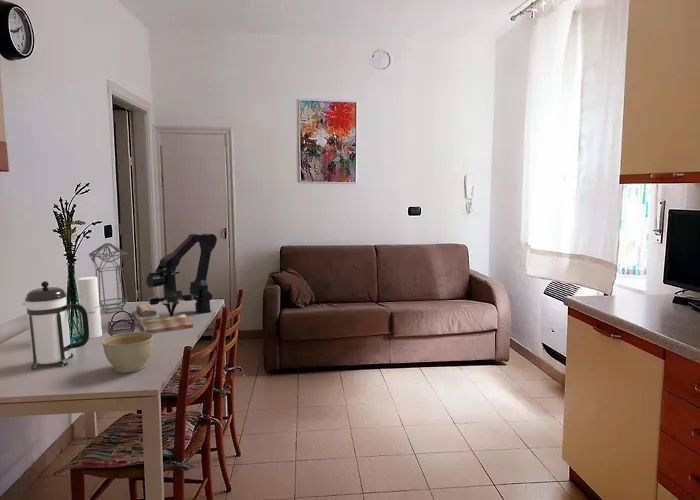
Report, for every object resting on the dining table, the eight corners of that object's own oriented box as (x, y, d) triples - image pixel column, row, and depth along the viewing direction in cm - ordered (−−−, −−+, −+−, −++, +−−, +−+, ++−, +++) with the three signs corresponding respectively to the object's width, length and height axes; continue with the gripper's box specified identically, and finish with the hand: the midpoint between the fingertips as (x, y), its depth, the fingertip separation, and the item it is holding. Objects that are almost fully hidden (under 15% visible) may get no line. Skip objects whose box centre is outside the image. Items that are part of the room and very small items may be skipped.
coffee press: (44, 374, 173) (35, 287, 170) (20, 366, 182) (11, 283, 178) (92, 358, 188) (85, 278, 184) (68, 352, 196) (61, 275, 193)
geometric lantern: (99, 316, 252) (93, 245, 247) (93, 310, 264) (87, 243, 260) (133, 311, 261) (127, 242, 257) (125, 305, 274) (120, 240, 269)
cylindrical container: (105, 334, 219) (100, 277, 216) (91, 339, 213) (85, 280, 210) (94, 332, 222) (89, 276, 219) (79, 337, 216) (74, 279, 213)
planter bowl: (153, 373, 171) (151, 342, 170) (101, 379, 167) (98, 347, 165) (157, 358, 187) (155, 329, 185) (109, 363, 182) (106, 334, 181)
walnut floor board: (187, 320, 240) (187, 317, 240) (193, 327, 227) (193, 324, 227) (142, 326, 231) (141, 323, 230) (145, 334, 218) (145, 330, 218)
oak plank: (185, 317, 246) (184, 314, 246) (187, 320, 240) (187, 316, 240) (140, 323, 237) (140, 320, 237) (141, 326, 231) (141, 323, 231)
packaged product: (131, 304, 256) (152, 302, 261) (132, 314, 256) (153, 311, 261) (137, 311, 240) (159, 308, 245) (138, 321, 241) (160, 318, 246)
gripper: (150, 289, 228) (152, 323, 230) (193, 284, 237) (195, 317, 239) (147, 285, 238) (149, 317, 240) (189, 281, 247) (190, 312, 249)
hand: (171, 316), depth 242 cm, fingers closed
